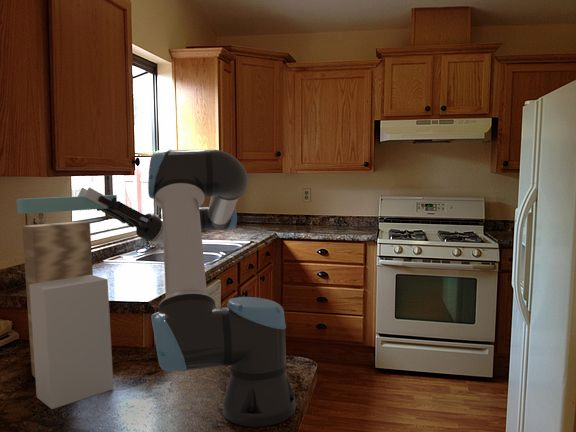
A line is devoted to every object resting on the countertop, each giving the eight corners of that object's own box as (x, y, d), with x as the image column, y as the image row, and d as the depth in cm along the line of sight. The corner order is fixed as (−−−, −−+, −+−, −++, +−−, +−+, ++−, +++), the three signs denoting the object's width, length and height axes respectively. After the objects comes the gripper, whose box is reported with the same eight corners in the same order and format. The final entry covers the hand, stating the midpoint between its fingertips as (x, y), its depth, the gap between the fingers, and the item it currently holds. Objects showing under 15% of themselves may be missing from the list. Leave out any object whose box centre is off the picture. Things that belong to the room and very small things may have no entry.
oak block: (86, 360, 139) (78, 221, 136) (97, 366, 134) (89, 222, 131) (32, 375, 129) (22, 226, 126) (42, 382, 124) (32, 227, 121)
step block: (96, 378, 126) (90, 274, 124) (113, 388, 119) (107, 279, 117) (36, 397, 116) (29, 284, 114) (51, 409, 109) (44, 289, 107)
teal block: (111, 207, 141) (110, 195, 141) (117, 208, 138) (116, 195, 138) (17, 213, 124) (16, 198, 124) (22, 213, 121) (21, 199, 121)
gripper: (164, 243, 142) (90, 205, 127) (135, 240, 153) (64, 204, 138) (175, 219, 144) (104, 179, 129) (145, 217, 156) (76, 180, 140)
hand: (83, 192), depth 134 cm, fingers closed on teal block, 3 cm apart
